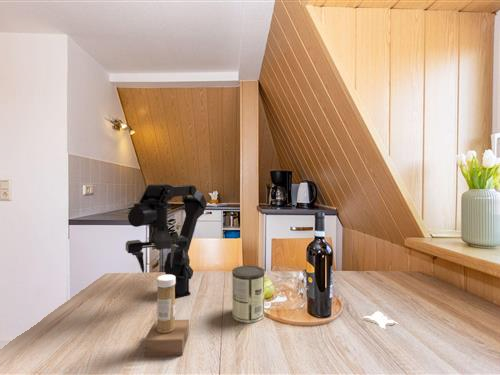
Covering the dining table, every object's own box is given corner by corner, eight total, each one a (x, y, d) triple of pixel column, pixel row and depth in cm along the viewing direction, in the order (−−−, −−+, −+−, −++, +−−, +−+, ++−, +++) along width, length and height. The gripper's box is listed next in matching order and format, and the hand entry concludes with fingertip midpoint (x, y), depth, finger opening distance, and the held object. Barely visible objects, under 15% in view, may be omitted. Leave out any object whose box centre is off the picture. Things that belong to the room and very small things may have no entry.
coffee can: (240, 304, 89) (241, 263, 89) (269, 310, 85) (269, 267, 85) (225, 318, 80) (226, 272, 80) (256, 326, 76) (256, 278, 76)
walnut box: (155, 335, 71) (155, 320, 71) (188, 334, 71) (188, 319, 71) (143, 356, 62) (144, 340, 62) (182, 355, 63) (182, 338, 62)
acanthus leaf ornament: (362, 321, 80) (362, 315, 80) (375, 315, 84) (375, 309, 84) (385, 333, 74) (386, 326, 74) (398, 326, 78) (398, 319, 78)
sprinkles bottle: (179, 326, 68) (179, 275, 68) (166, 336, 64) (167, 281, 63) (165, 322, 70) (165, 272, 70) (152, 331, 65) (152, 278, 65)
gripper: (131, 228, 73) (131, 283, 73) (194, 223, 84) (194, 271, 84) (125, 223, 83) (125, 272, 83) (182, 219, 93) (182, 262, 93)
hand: (157, 269), depth 85 cm, fingers open, 9 cm apart
